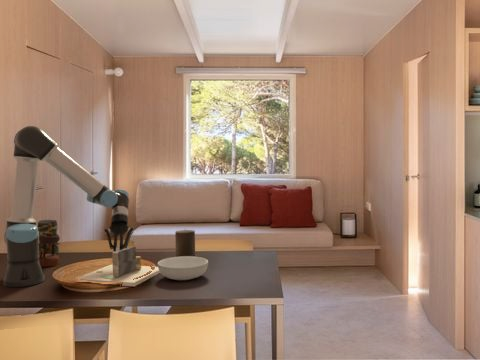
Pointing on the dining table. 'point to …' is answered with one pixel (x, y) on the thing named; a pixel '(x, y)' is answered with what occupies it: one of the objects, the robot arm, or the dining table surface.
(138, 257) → the peg head
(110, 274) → the board
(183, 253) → the pillar candle
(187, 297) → the dining table surface
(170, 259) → the serving bowl
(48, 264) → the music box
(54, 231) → the camouflage backpack
